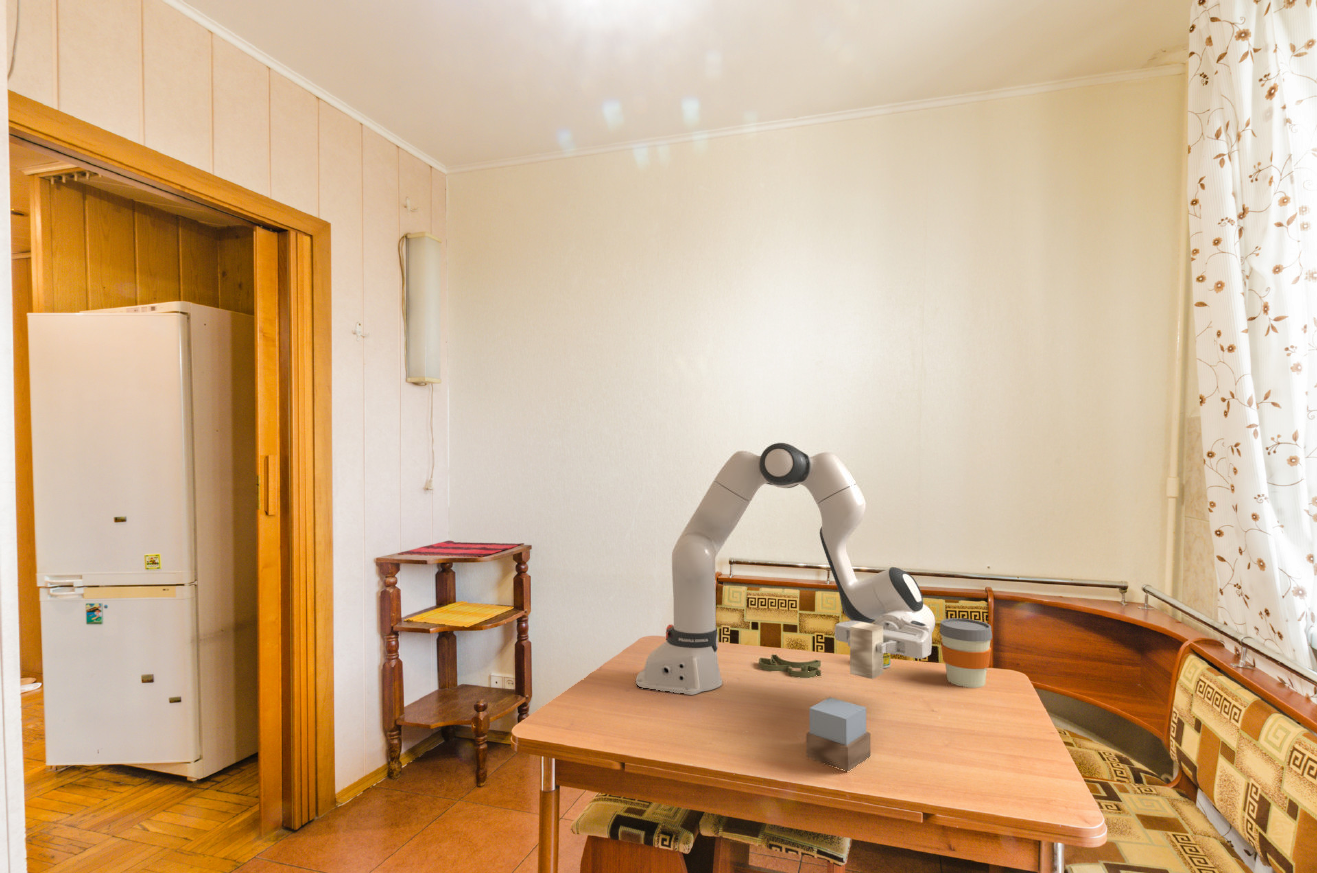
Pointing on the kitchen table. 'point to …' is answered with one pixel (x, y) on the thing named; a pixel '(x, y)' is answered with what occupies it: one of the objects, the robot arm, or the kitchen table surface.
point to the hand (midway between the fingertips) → (864, 645)
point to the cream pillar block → (865, 650)
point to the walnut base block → (838, 751)
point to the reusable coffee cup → (966, 651)
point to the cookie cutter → (785, 666)
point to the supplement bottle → (886, 660)
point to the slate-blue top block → (837, 720)
